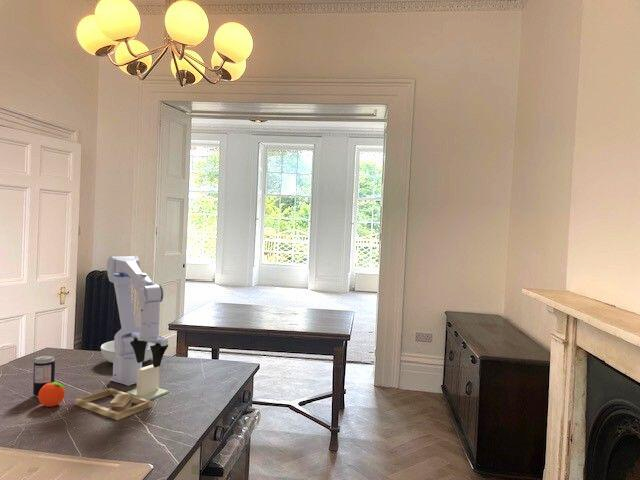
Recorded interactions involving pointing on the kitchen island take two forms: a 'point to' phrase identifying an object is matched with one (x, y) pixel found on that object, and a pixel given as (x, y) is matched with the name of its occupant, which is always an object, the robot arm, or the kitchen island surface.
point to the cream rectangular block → (147, 379)
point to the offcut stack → (121, 402)
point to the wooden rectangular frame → (87, 404)
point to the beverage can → (43, 372)
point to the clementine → (51, 394)
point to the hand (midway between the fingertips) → (148, 364)
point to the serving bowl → (110, 354)
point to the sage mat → (149, 395)
